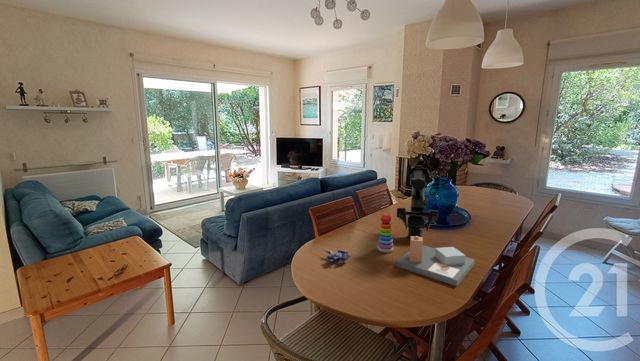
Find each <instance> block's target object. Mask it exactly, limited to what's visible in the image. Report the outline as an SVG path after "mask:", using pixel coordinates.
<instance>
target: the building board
mask: <svg viewBox="0 0 640 361" xmlns="http://www.w3.org/2000/svg"><path fill="white" fill-rule="evenodd" d="M435 248H436V247H431V246H427V245H424V244H423V247H422V262H421V263H418V262H410V250H409V251H407V252H406V253H404V255H402V256H400V257H399V258H398V259H396V260H395V266H396V267H398V268H401V269H404V270H407V271H410V272H413V273H416V274H419V275H422V276H424V277H427V278H430V279H434V280H436V281H440V282H443V283H444V284H445V283H446V284H448V285H450V286H454V287H458V285H459V284H460V283H462V281H463V280H464V278H465V277H466V276H467V274H468V273H469V272H470V271H471V270H472V269H473V267H474V266H475V262H476V259H473V258H472V257H471V258H470V257H468V256H465V264H457V265H444V264H443V263H442V262H441V261H440V260H438V259H437V258H436V257H435Z"/></svg>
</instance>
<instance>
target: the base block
mask: <svg viewBox="0 0 640 361" xmlns="http://www.w3.org/2000/svg"><path fill="white" fill-rule="evenodd" d="M434 248H435V257H436V258H437V259H438V260H440V261H441V262H442V263H443V264H444V265H457V264H465V257H466V254H465V253H463V252H462V251H460V250H459V249H458V248H455V247H454V246H443V247H434Z"/></svg>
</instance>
